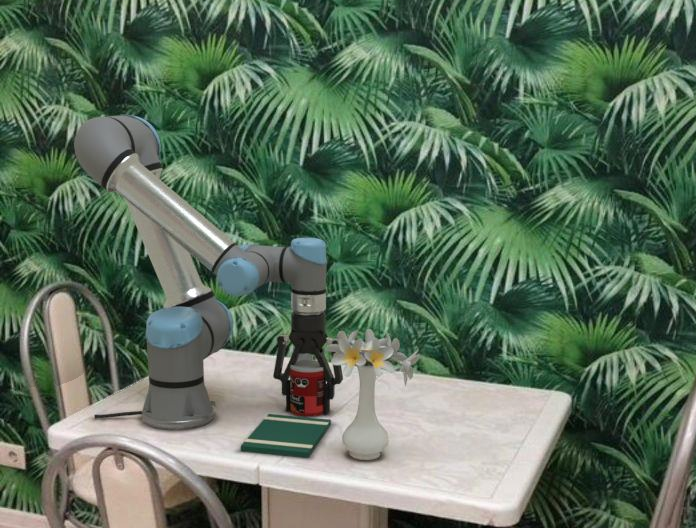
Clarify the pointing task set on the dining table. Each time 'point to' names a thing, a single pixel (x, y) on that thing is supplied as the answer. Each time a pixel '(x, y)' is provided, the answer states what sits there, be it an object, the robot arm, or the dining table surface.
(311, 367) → the canned food
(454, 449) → the dining table surface
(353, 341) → the flower vase
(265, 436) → the towel
